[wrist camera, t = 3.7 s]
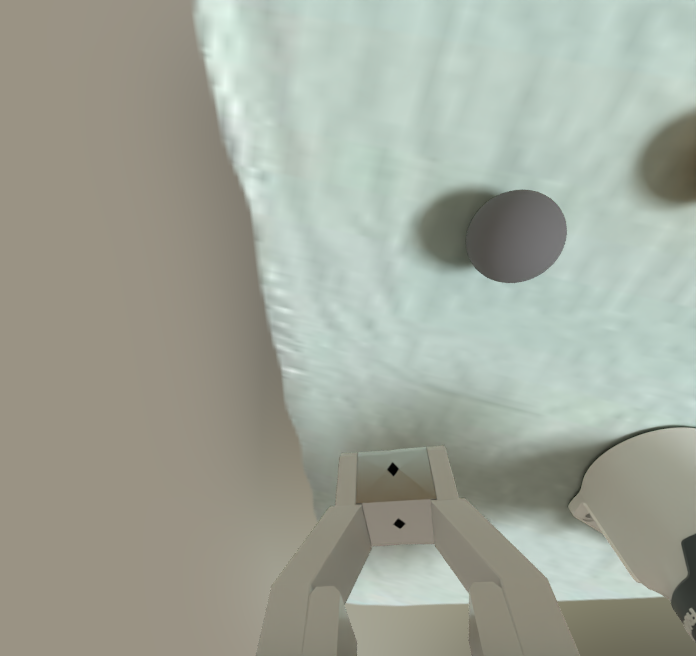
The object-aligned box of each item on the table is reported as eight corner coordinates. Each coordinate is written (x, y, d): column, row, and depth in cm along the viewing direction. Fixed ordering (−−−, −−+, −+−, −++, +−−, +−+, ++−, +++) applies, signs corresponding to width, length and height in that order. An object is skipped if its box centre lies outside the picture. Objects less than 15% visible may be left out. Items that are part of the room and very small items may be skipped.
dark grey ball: (554, 231, 24) (606, 251, 19) (485, 282, 27) (514, 314, 21) (512, 166, 23) (556, 169, 17) (440, 227, 25) (460, 246, 19)
